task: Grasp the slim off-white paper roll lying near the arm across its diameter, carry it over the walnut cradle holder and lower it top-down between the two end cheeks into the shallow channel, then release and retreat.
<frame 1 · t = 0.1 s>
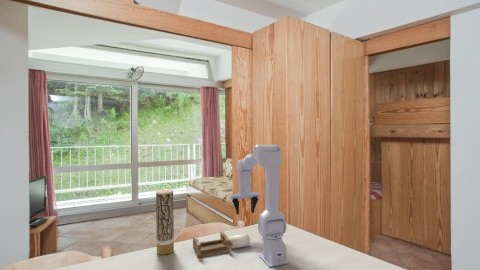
hand: (245, 213, 125), 10 cm above the table, fingers open, 7 cm apart
roll: (239, 247, 111), on the table
holder: (211, 249, 108), on the table
paper tube: (165, 252, 107), on the table
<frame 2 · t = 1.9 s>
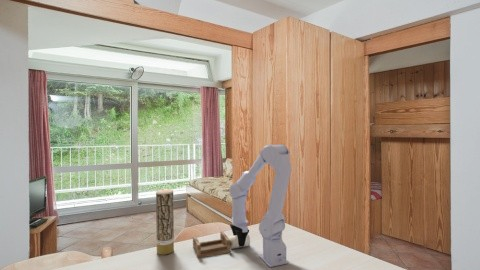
hand: (239, 243, 111), 1 cm above the table, fingers closed on roll, 5 cm apart
roll: (239, 246, 111), on the table, touching gripper
everything else where it was.
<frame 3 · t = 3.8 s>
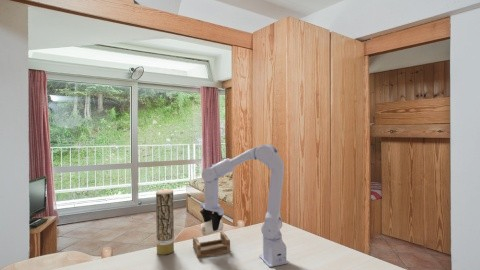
hand: (211, 228, 108), 9 cm above the table, fingers closed on roll, 5 cm apart
roll: (211, 232, 109), point 7 cm above the table, tilted 7°, touching gripper
everything else where it was.
when the fingers open (4 cm above the table, at t = 5.3 s): roll stays where it is, resting on holder.
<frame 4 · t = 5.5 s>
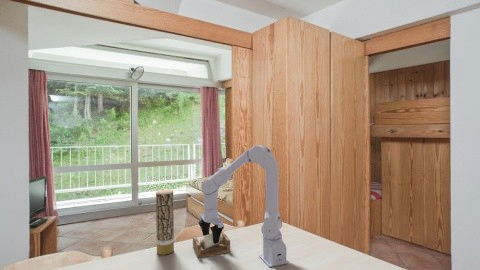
hand: (211, 240, 108), 4 cm above the table, fingers open, 7 cm apart
roll: (211, 245, 109), point 2 cm above the table, tilted 8°, touching holder
everything else where it was.
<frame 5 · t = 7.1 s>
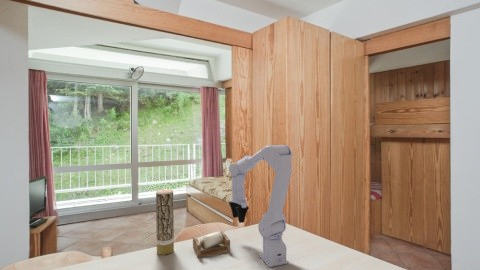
hand: (238, 219, 116), 10 cm above the table, fingers open, 7 cm apart
nothing on the table moved.
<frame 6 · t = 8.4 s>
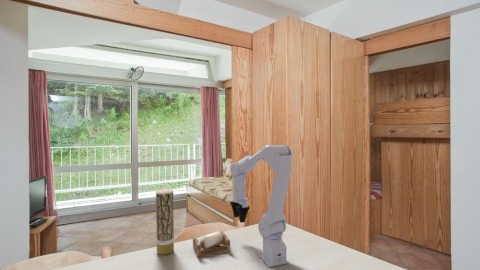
hand: (239, 219, 116), 10 cm above the table, fingers open, 7 cm apart
nothing on the table moved.
at the end: roll 0.4 cm off-centre on the holder, point 1.6 cm above the holder's base; the gripper is holding nothing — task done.
